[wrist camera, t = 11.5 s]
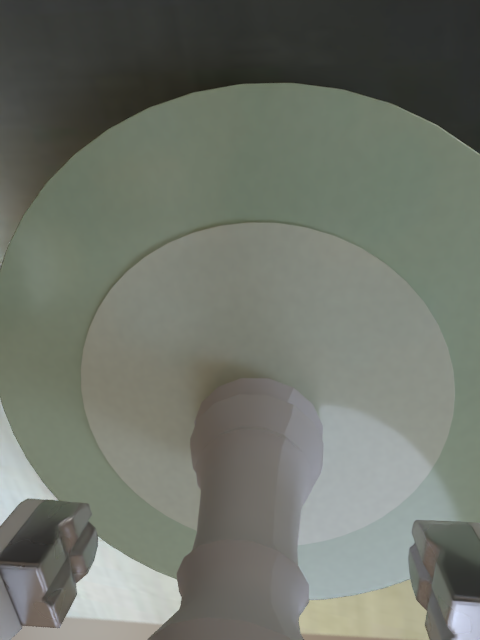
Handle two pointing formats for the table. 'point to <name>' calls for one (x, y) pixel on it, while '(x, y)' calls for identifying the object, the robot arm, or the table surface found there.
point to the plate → (254, 317)
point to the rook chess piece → (248, 514)
